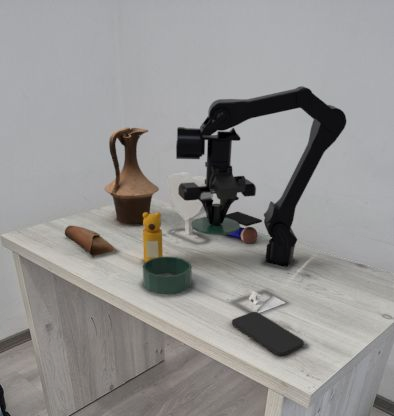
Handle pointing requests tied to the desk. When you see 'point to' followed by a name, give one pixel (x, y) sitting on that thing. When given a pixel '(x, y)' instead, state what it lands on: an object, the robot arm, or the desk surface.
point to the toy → (152, 236)
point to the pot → (167, 283)
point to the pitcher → (129, 180)
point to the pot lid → (215, 223)
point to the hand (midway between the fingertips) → (215, 223)
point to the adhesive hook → (255, 297)
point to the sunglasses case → (89, 240)
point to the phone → (268, 333)
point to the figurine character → (246, 233)
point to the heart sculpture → (182, 206)
